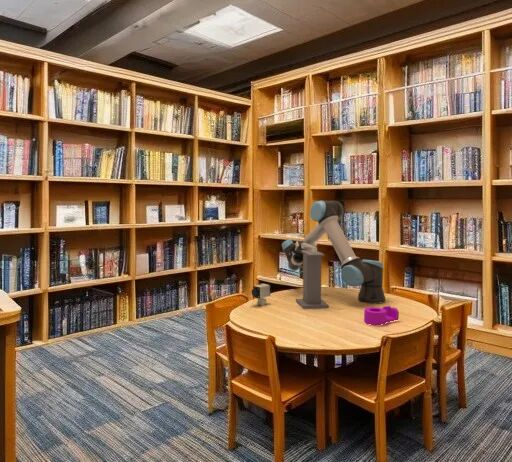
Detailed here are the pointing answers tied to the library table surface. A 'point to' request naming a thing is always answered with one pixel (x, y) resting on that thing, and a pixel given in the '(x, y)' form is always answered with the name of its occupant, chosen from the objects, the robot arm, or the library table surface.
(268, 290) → the grey camera
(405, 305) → the library table surface
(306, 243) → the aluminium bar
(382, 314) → the tape dispenser
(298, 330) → the library table surface
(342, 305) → the library table surface
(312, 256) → the stand
